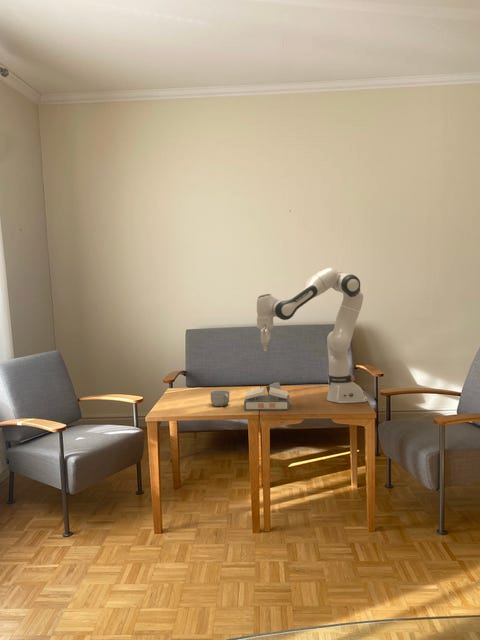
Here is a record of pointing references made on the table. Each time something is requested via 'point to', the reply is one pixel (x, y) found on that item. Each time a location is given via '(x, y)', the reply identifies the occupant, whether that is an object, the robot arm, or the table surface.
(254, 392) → the block
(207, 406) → the table surface
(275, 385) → the electrical switch
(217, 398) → the teacup
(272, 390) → the rocker
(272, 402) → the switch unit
